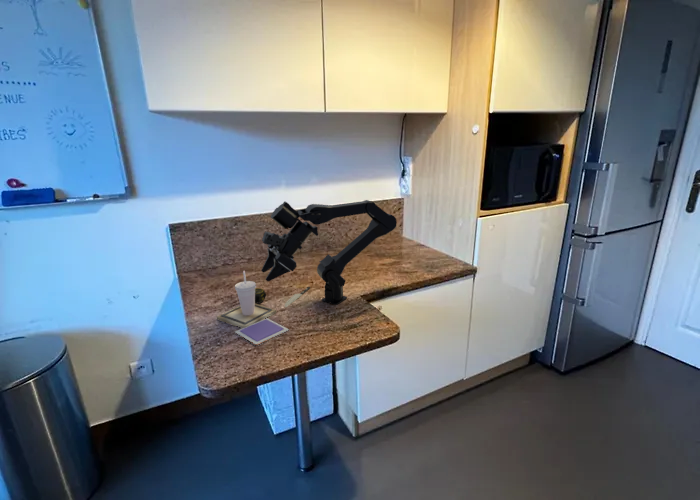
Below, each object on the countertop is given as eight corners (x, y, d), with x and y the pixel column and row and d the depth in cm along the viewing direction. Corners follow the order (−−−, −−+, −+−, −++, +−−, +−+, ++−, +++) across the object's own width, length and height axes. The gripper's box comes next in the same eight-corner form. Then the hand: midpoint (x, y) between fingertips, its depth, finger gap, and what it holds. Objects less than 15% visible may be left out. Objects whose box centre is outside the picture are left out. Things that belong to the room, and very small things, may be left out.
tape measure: (242, 304, 126) (241, 294, 125) (252, 296, 132) (251, 286, 131) (259, 306, 124) (258, 296, 123) (269, 298, 130) (268, 288, 129)
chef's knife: (276, 309, 122) (283, 310, 121) (275, 306, 122) (283, 307, 121) (304, 288, 139) (311, 288, 138) (303, 285, 139) (310, 285, 138)
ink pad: (267, 319, 114) (266, 317, 113) (288, 331, 106) (288, 328, 106) (235, 333, 106) (234, 330, 106) (256, 346, 99) (255, 343, 98)
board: (249, 304, 125) (248, 300, 125) (276, 312, 118) (276, 309, 118) (217, 319, 115) (216, 315, 115) (245, 329, 108) (244, 325, 108)
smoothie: (259, 307, 120) (255, 267, 116) (258, 316, 114) (253, 274, 110) (239, 309, 119) (234, 268, 115) (236, 318, 113) (231, 275, 109)
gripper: (271, 217, 121) (240, 253, 120) (281, 227, 104) (246, 270, 103) (296, 237, 126) (267, 272, 125) (310, 250, 109) (277, 291, 108)
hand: (264, 276), depth 115 cm, fingers open, 9 cm apart
